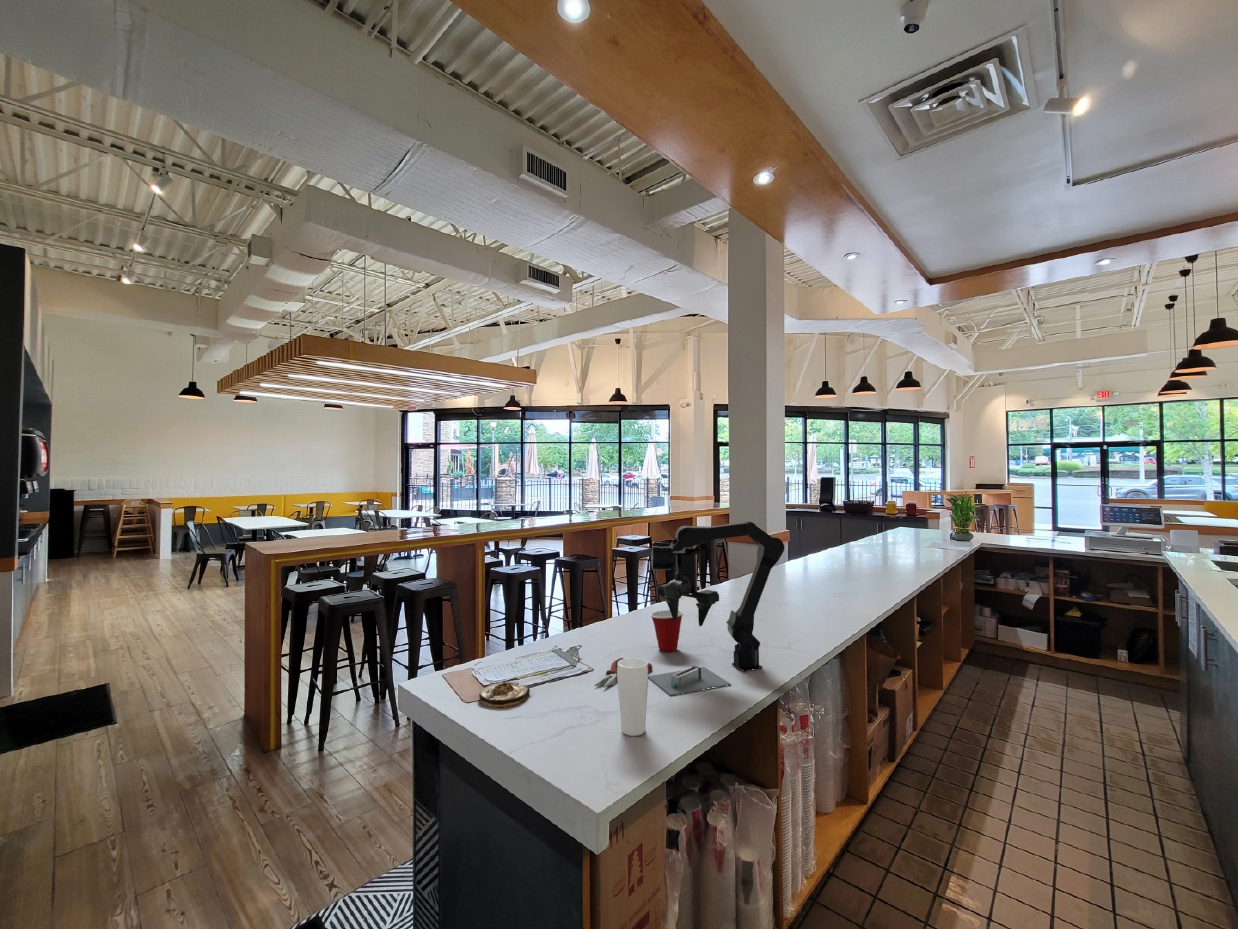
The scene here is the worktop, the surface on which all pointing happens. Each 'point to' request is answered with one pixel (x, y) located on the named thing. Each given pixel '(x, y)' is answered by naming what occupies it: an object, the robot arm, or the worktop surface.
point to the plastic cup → (667, 629)
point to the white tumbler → (633, 694)
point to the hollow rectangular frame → (685, 677)
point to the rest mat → (704, 682)
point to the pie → (504, 694)
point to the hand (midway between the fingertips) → (687, 623)
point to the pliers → (611, 675)
